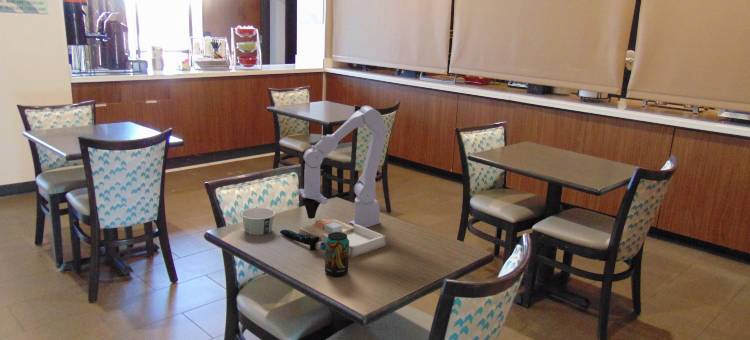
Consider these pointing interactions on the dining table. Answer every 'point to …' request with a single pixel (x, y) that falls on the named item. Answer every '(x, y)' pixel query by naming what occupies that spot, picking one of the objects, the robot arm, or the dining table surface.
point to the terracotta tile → (322, 223)
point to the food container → (258, 220)
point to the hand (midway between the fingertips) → (311, 217)
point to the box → (362, 240)
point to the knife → (304, 239)
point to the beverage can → (336, 254)
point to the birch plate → (316, 231)
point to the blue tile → (333, 227)
